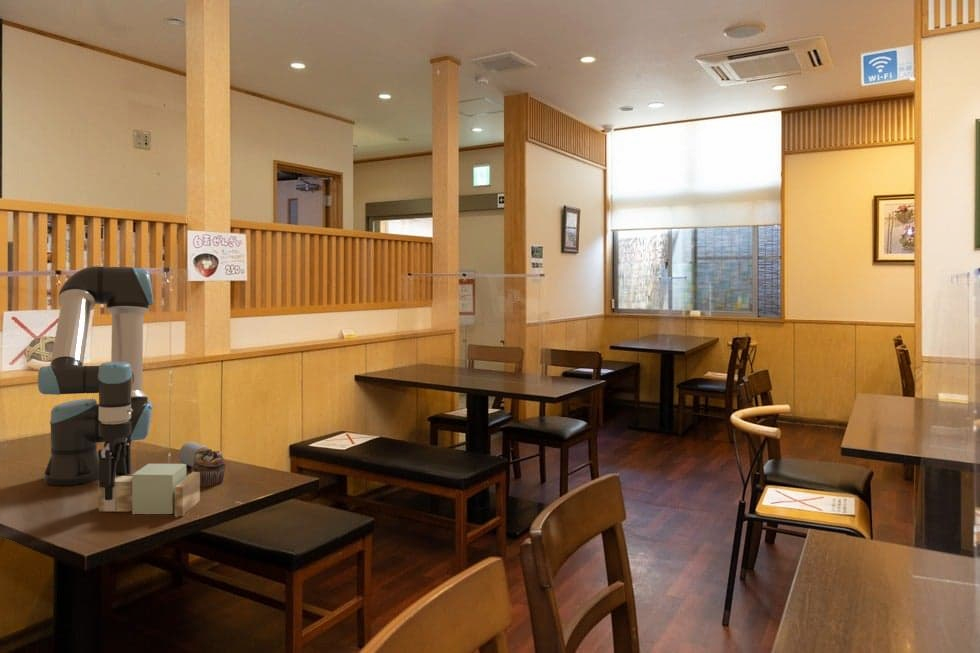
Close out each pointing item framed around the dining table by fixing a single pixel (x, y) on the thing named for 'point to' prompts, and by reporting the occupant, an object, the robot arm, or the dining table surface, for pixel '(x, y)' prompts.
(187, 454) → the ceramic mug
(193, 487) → the board
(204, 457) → the cupcake
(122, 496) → the light wood rectangular block
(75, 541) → the dining table surface
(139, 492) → the socket block
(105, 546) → the dining table surface
